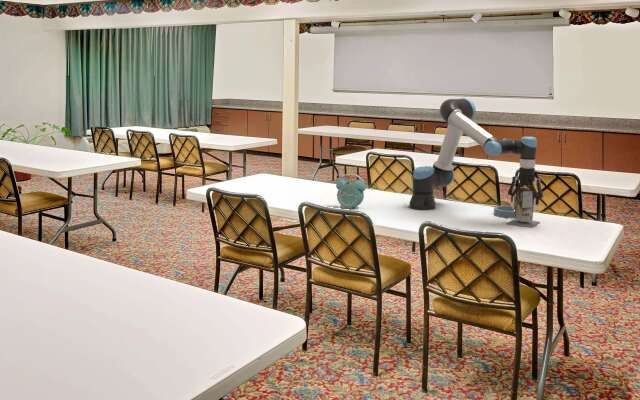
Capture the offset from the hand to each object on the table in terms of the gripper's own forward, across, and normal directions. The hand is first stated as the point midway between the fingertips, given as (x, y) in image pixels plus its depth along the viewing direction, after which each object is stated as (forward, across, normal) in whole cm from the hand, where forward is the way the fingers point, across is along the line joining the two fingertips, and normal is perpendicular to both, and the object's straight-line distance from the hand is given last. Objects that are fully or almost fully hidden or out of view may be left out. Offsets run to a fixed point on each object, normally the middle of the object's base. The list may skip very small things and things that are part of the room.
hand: (524, 209), depth 318 cm
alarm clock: (+8, -93, -22) cm, 96 cm away
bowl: (+7, -13, +15) cm, 21 cm away
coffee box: (+5, 0, 0) cm, 5 cm away
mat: (+7, 0, 0) cm, 7 cm away
